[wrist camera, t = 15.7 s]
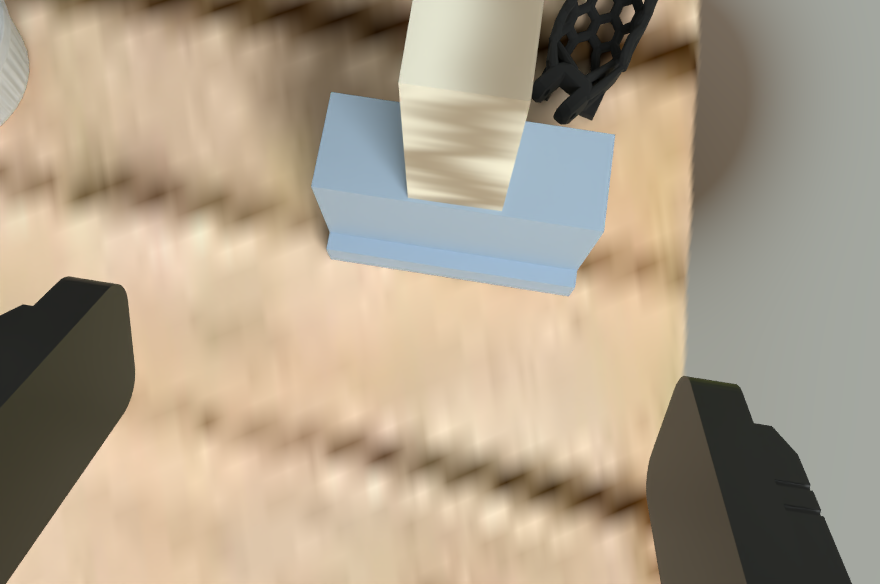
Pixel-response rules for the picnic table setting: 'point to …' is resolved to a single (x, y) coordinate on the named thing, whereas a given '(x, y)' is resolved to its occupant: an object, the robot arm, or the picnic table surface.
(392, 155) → the light blue rectangular block
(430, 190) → the birch post
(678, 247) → the picnic table surface
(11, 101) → the ramekin
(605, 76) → the decorative element
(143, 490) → the picnic table surface
